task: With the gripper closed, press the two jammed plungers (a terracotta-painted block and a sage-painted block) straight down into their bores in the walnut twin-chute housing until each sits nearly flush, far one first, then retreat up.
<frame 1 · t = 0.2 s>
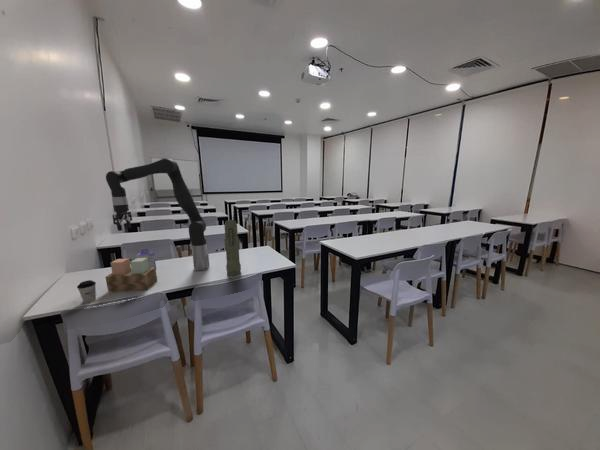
hand: (124, 229, 145), 29 cm above the table, fingers open, 8 cm apart
green carved pillar: (234, 273, 147), on the table
housing: (134, 286, 130), on the table
plunger far: (121, 268, 127), point 11 cm above the table, slide at 6.0 cm
ink cartridge box: (147, 270, 153), on the table
coffee cup: (89, 301, 115), on the table
plunger near: (140, 268, 128), point 11 cm above the table, slide at 6.0 cm
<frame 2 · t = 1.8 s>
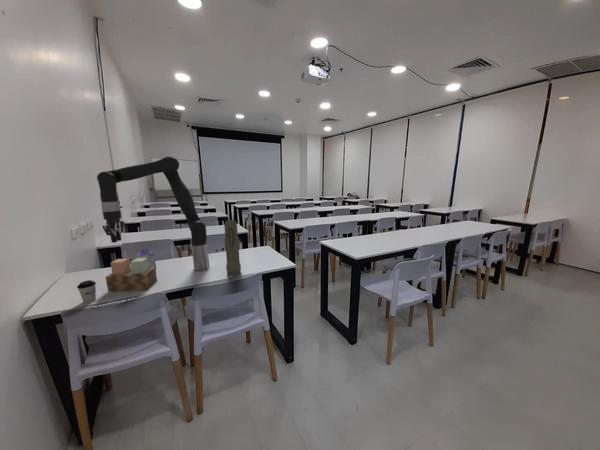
hand: (116, 241, 124), 27 cm above the table, fingers open, 3 cm apart
nothing on the table moved.
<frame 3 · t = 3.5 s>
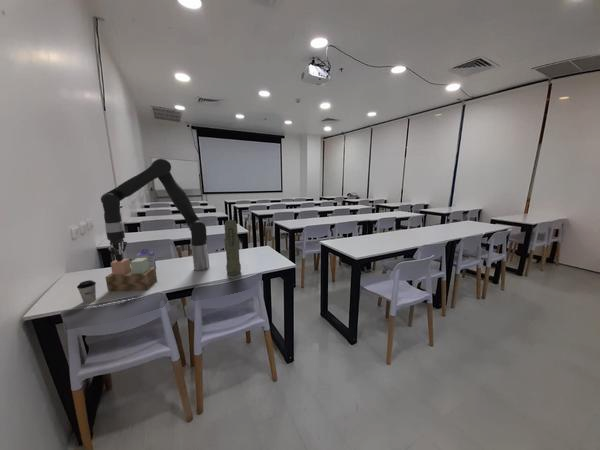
hand: (120, 260, 126), 16 cm above the table, fingers closed
plunger far: (121, 269, 127), point 11 cm above the table, slide at 5.9 cm, touching gripper
everything else where it was.
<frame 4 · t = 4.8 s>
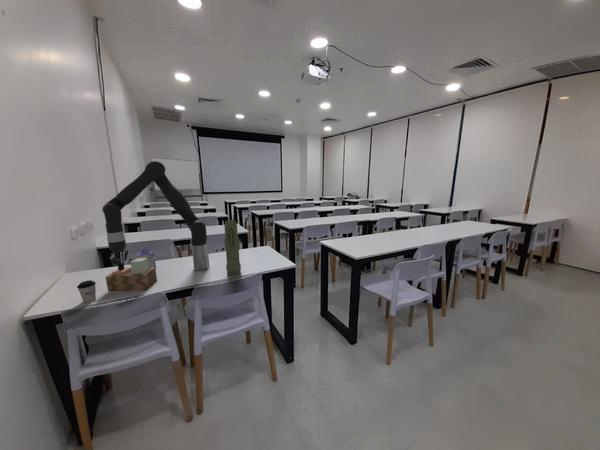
hand: (121, 269, 127), 11 cm above the table, fingers closed
plunger far: (123, 278, 128), point 6 cm above the table, slide at 0.5 cm, touching gripper
everything else where it was.
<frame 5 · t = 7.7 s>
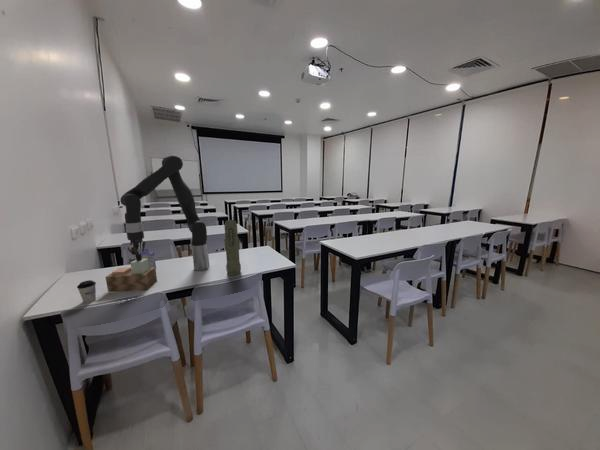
hand: (139, 260, 127), 16 cm above the table, fingers closed
plunger far: (123, 278, 128), point 6 cm above the table, slide at 0.5 cm
plunger near: (140, 268, 128), point 11 cm above the table, slide at 5.5 cm, touching gripper
everything else where it was.
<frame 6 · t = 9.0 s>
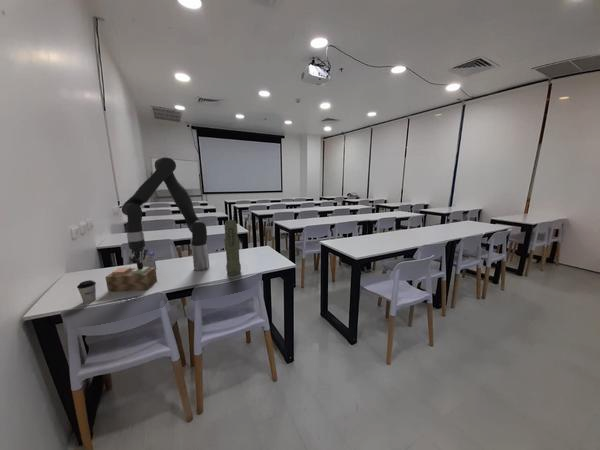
hand: (140, 268, 128), 11 cm above the table, fingers closed
plunger near: (141, 277, 129), point 6 cm above the table, slide at 0.5 cm, touching gripper
everything else where it was.
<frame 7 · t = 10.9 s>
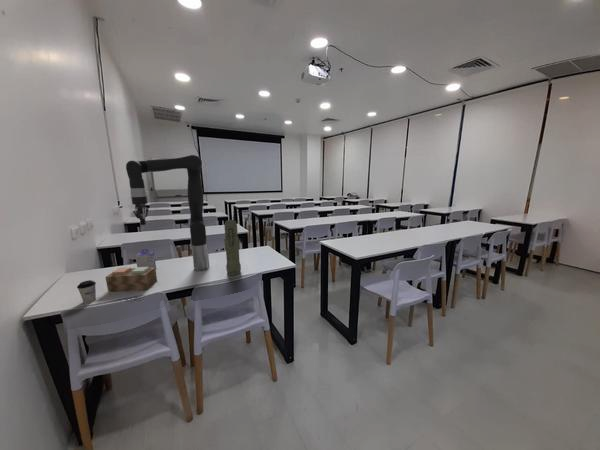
hand: (143, 224, 137), 33 cm above the table, fingers closed
plunger near: (141, 277, 129), point 6 cm above the table, slide at 0.5 cm
everything else where it was.
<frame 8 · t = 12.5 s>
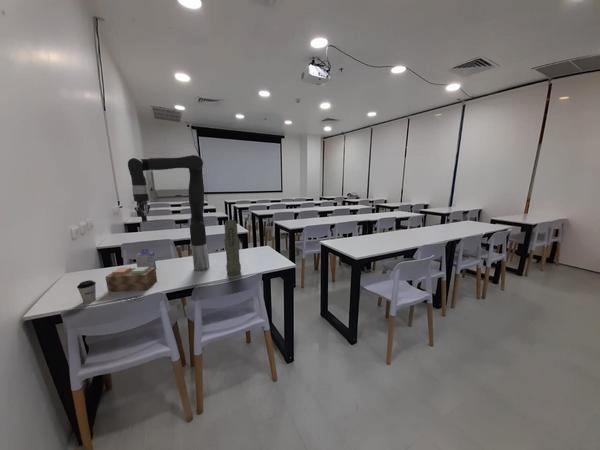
hand: (144, 221, 139), 35 cm above the table, fingers closed
nothing on the table moved.
at the end: plunger far slide at 0.5 cm; plunger near slide at 0.5 cm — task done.
